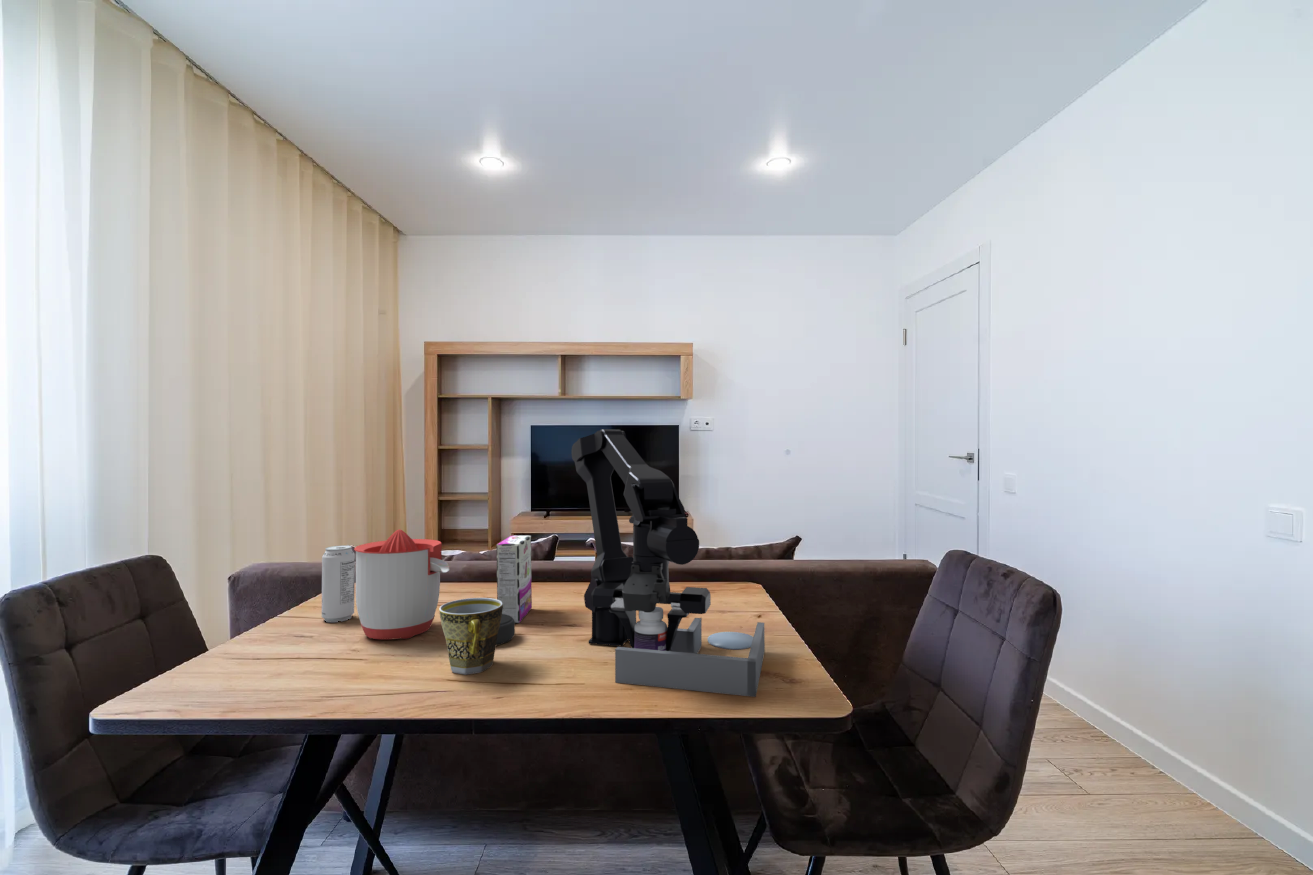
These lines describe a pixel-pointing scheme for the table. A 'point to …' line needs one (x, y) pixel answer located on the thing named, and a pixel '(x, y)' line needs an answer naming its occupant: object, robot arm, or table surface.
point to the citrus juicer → (398, 585)
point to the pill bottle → (650, 631)
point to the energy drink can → (338, 583)
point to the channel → (692, 665)
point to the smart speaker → (506, 629)
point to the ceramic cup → (471, 633)
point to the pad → (731, 640)
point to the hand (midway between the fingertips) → (650, 650)
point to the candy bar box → (514, 576)
